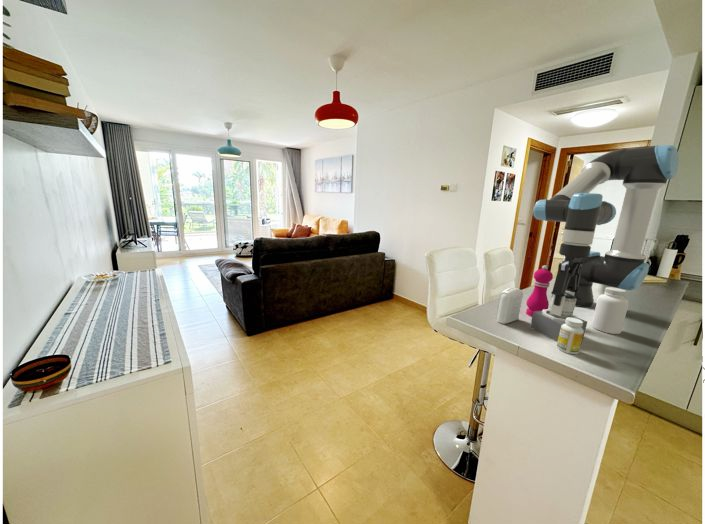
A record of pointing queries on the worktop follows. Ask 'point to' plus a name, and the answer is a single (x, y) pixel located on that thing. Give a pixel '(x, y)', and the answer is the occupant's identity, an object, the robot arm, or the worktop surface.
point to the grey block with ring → (550, 324)
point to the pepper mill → (539, 291)
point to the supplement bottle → (570, 336)
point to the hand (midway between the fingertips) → (560, 311)
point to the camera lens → (566, 306)
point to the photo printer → (509, 305)
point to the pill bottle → (610, 311)
